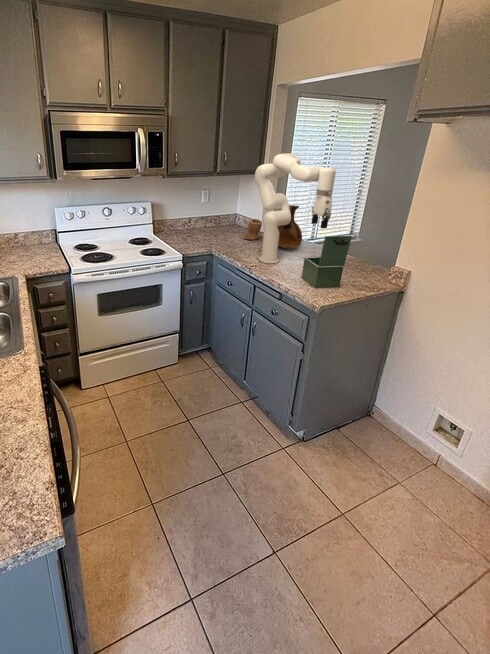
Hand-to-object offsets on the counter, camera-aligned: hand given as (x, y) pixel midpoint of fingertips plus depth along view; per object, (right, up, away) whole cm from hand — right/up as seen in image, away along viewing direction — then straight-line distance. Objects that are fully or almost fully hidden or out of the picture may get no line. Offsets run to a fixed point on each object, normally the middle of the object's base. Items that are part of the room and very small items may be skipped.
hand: (318, 225), depth 188 cm
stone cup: (-13, +2, +87) cm, 88 cm away
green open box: (+3, -30, +7) cm, 31 cm away
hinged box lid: (+4, -14, -8) cm, 17 cm away
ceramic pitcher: (+5, -7, +66) cm, 66 cm away
